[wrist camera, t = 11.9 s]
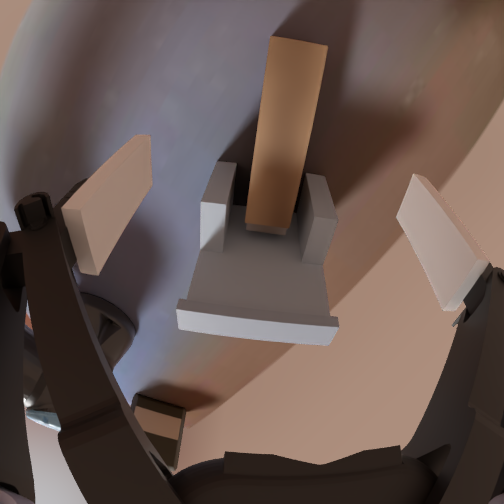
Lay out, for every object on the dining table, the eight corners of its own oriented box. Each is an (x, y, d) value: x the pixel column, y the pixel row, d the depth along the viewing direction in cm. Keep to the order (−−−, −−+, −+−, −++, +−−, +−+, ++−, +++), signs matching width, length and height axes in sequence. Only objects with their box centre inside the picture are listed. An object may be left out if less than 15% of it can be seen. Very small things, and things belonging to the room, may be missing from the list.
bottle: (182, 414, 82) (170, 486, 63) (132, 399, 78) (115, 472, 59) (188, 408, 77) (175, 487, 58) (134, 392, 73) (115, 471, 54)
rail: (248, 196, 32) (243, 229, 27) (270, 36, 21) (270, 35, 16) (285, 201, 32) (287, 235, 27) (316, 44, 21) (328, 46, 16)
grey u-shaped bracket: (209, 219, 34) (178, 329, 23) (212, 160, 29) (170, 261, 18) (313, 232, 34) (328, 345, 23) (329, 176, 30) (362, 284, 18)
